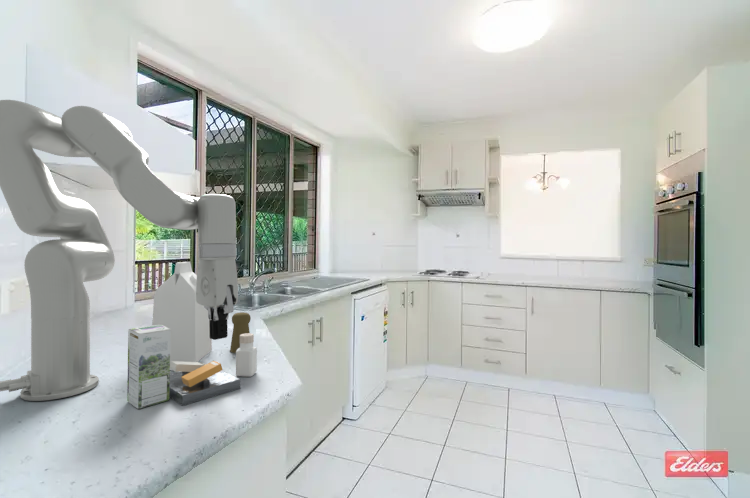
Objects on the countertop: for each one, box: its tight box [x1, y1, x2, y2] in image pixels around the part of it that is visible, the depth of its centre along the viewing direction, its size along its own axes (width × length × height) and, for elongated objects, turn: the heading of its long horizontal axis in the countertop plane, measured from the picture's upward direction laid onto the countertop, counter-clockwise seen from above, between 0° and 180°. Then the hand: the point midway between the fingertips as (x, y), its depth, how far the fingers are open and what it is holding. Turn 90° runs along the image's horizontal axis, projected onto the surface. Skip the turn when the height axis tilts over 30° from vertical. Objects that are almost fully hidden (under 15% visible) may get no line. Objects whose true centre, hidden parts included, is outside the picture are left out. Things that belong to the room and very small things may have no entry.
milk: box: [151, 261, 213, 362], centre depth 103 cm, size 12×12×26 cm
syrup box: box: [126, 325, 171, 410], centre depth 73 cm, size 6×6×14 cm
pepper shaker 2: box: [235, 332, 258, 378], centre depth 89 cm, size 4×4×10 cm
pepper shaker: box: [229, 311, 251, 354], centre depth 110 cm, size 6×6×11 cm
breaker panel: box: [169, 370, 242, 407], centre depth 81 cm, size 12×14×3 cm
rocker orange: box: [181, 360, 223, 387], centre depth 78 cm, size 7×3×2 cm, turn 139°
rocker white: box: [170, 361, 207, 373], centre depth 82 cm, size 7×3×2 cm, turn 139°
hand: (218, 337), depth 81 cm, fingers closed
